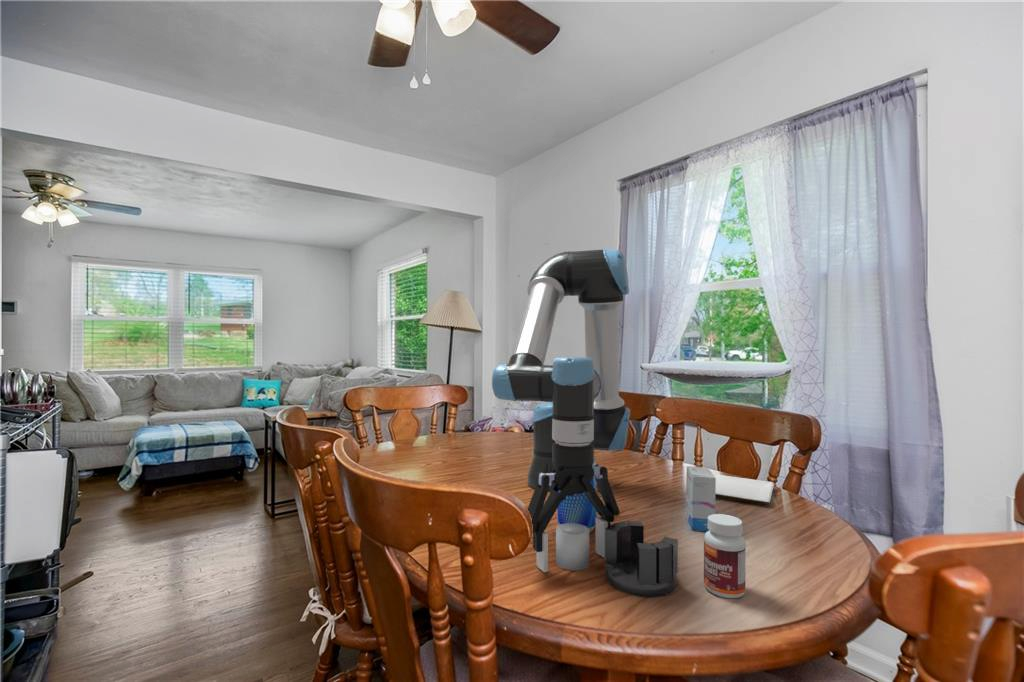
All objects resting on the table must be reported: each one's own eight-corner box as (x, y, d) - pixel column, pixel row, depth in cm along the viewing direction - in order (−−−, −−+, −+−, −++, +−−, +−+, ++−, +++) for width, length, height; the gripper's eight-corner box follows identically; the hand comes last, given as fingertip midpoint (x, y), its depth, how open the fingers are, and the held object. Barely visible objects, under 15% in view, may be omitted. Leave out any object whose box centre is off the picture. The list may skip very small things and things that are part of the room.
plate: (774, 489, 130) (774, 482, 130) (769, 509, 114) (769, 501, 114) (702, 479, 140) (702, 472, 140) (688, 496, 124) (688, 488, 124)
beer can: (601, 524, 104) (601, 451, 104) (590, 538, 96) (590, 459, 96) (564, 518, 107) (564, 447, 108) (551, 531, 100) (551, 455, 100)
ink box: (716, 533, 99) (716, 476, 99) (691, 531, 100) (691, 475, 100) (708, 518, 108) (708, 466, 108) (685, 516, 109) (684, 465, 109)
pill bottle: (698, 590, 76) (698, 520, 76) (710, 576, 81) (710, 509, 81) (739, 604, 72) (739, 529, 72) (750, 588, 77) (750, 518, 77)
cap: (549, 559, 87) (549, 524, 87) (577, 552, 90) (577, 519, 90) (567, 573, 82) (567, 536, 82) (596, 566, 84) (595, 530, 84)
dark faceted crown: (591, 570, 82) (591, 527, 82) (643, 557, 87) (643, 517, 88) (636, 603, 72) (636, 554, 72) (692, 586, 77) (692, 540, 77)
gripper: (523, 452, 77) (522, 585, 77) (639, 440, 88) (639, 556, 87) (503, 444, 84) (503, 566, 84) (613, 433, 94) (613, 541, 94)
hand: (572, 561), depth 86 cm, fingers open, 12 cm apart
